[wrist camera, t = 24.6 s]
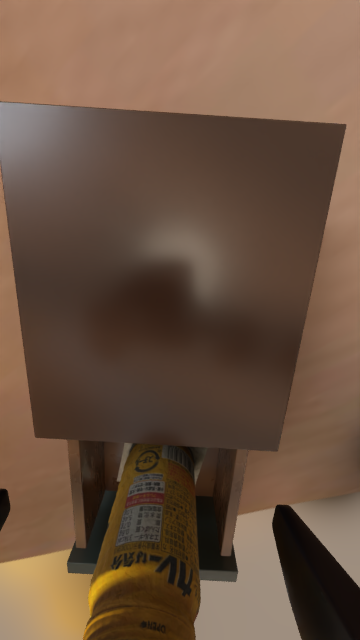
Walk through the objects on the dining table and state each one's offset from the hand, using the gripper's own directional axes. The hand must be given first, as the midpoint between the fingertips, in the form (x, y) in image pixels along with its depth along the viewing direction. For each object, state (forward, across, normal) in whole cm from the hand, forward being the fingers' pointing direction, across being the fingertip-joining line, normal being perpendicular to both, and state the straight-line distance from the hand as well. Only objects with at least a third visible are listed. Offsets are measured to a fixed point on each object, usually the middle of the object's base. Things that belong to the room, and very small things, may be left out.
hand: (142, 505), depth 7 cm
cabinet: (+13, 0, -6) cm, 14 cm away
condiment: (+11, 0, +9) cm, 14 cm away
